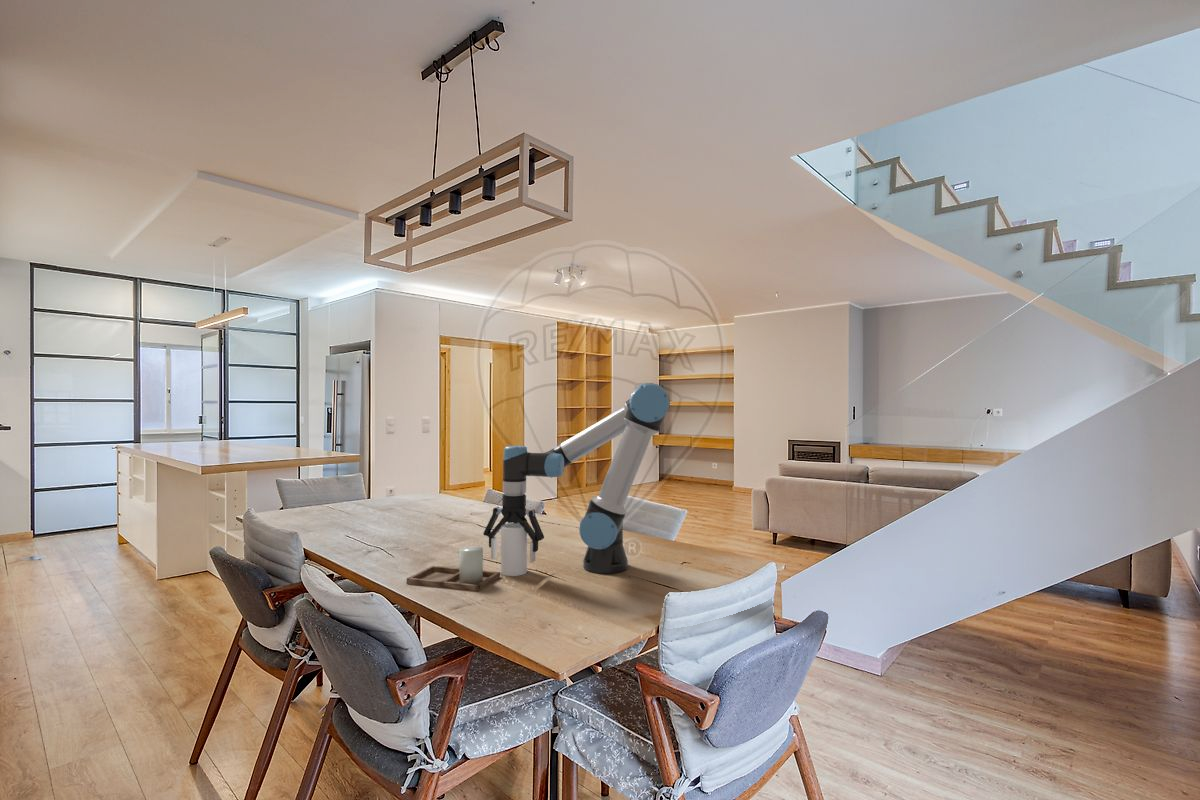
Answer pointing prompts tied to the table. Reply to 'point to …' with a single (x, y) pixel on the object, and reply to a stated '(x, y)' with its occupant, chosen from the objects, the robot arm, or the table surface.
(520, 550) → the cup
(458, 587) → the caddy
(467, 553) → the pale green rounded cylinder
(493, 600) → the table surface
